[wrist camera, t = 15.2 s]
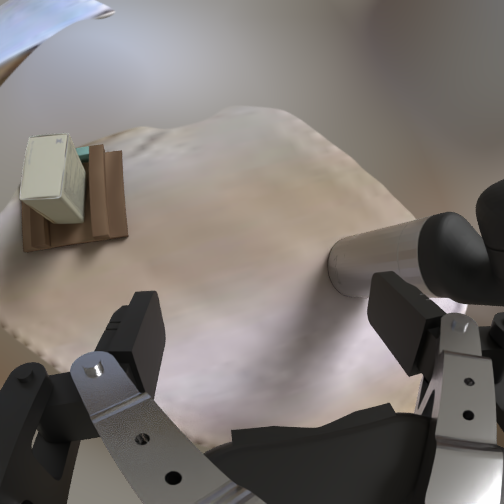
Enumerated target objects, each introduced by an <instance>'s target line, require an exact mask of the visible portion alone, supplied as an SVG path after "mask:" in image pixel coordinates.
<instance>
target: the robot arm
mask: <svg viewBox="0 0 504 504" xmlns="http://www.w3.org/2000/svg"><path fill="white" fill-rule="evenodd" d="M476 217H477V221H478V225H479V229H480V232H481V235H482V237H481V236H480V235H479V234H478V233H477V232H476V231H475V229H474V228H473V227H472V226H471V225H470V223H469V222H468V221H467V220H466V219H465V218H464V217H462V216H461V215H459V214H457V213H454V212H445V213H440V214H437V215H433V216H429V217H425V218H421V219H417V220H414V221H410V222H406V223H402V224H398V225H394V226H390V227H386V228H382V229H378V230H374V231H370V232H366V233H361V234H357V235H353V236H349V237H345V238H343V239H341V240H339V241H338V242H337V243H336V244H335V245H334V247H333V248H332V250H331V252H330V256H329V260H328V271H329V276H330V279H331V281H332V284H333V285H334V287H335V288H336V289H337V290H338V291H339V292H340V293H341V294H343V295H345V296H349V297H369V301H368V308H367V315H368V320H369V322H370V324H371V326H372V327H373V328H374V330H375V331H376V332H377V334H378V335H379V336H380V338H381V339H382V340H383V342H384V343H385V345H386V346H387V347H388V349H389V350H390V351H391V353H392V354H393V355H394V357H395V358H396V360H397V361H398V362H399V364H400V365H401V367H402V368H403V369H404V371H405V372H406V374H407V375H408V376H409V377H410V376H413V375H416V374H420V373H422V374H423V377H422V379H421V382H420V387H419V392H418V397H417V402H416V407H415V411H414V414H413V413H395V411H394V409H393V408H392V406H391V404H390V403H386V404H383V405H379V406H375V407H372V408H368V409H364V410H359V411H355V412H353V413H351V414H349V415H347V416H344V417H342V418H340V419H338V420H336V421H333V422H331V423H329V424H327V425H324V426H322V427H318V428H301V427H280V426H270V427H261V428H251V429H239V430H231V433H232V442H229V443H225V444H223V445H220V446H217V447H215V448H213V449H211V450H209V451H207V452H205V453H204V454H202V452H200V450H199V449H198V448H196V446H195V445H194V444H193V443H192V442H191V441H190V440H189V439H188V438H187V437H186V436H185V435H184V434H183V433H182V432H181V431H180V430H179V428H178V427H177V426H176V425H175V424H174V423H173V422H172V421H171V420H170V419H169V417H168V416H167V415H166V414H165V413H164V412H163V411H162V409H161V408H160V407H159V406H158V405H157V404H156V402H155V401H154V396H155V391H156V386H157V381H158V376H159V371H160V366H161V361H162V356H163V352H164V347H165V340H166V337H165V327H164V323H163V318H162V313H161V308H160V303H159V298H158V294H157V292H156V291H140V292H135V293H134V296H133V298H132V300H131V302H130V304H129V305H125V306H122V307H121V308H119V309H118V310H117V311H116V312H115V313H114V314H113V315H112V317H111V319H110V321H109V323H108V325H107V327H106V330H105V331H104V333H103V335H102V337H101V339H100V341H99V343H98V345H97V347H96V349H95V351H94V352H90V353H87V354H84V355H82V356H81V357H79V358H78V359H76V360H75V361H74V363H73V364H72V366H71V369H70V372H67V373H61V374H55V375H48V374H47V371H46V369H45V368H44V366H43V365H41V364H39V363H35V362H32V363H26V364H23V365H20V366H19V367H17V368H16V369H14V370H13V371H12V372H11V374H10V375H9V377H8V378H7V380H6V382H5V384H4V385H3V387H2V389H1V390H0V504H67V499H68V494H69V489H70V484H71V479H72V475H73V470H74V465H75V461H76V457H77V453H78V449H79V445H80V441H81V440H84V439H91V438H97V437H101V439H102V441H103V443H104V444H105V446H106V448H107V449H108V451H109V453H110V455H111V456H112V458H113V459H114V461H115V463H116V464H117V466H118V468H119V469H120V471H121V472H122V474H123V475H124V477H125V478H126V480H127V481H128V483H129V484H130V486H131V487H132V489H133V490H134V491H135V493H136V494H137V496H138V497H139V498H140V500H141V501H142V503H143V504H504V448H503V447H500V446H497V443H496V422H497V423H498V424H499V426H500V427H501V429H502V430H503V432H504V312H502V313H497V314H496V315H495V316H494V319H493V321H492V324H491V326H486V327H478V325H477V323H476V322H475V321H474V320H473V319H472V318H470V317H469V316H467V315H464V314H460V313H448V314H447V313H445V312H444V311H443V310H442V309H441V308H440V307H439V306H438V305H436V304H435V303H434V302H433V301H432V300H431V299H430V300H429V298H450V299H452V300H453V301H455V302H458V303H462V304H474V305H490V306H504V179H503V180H501V181H499V182H497V183H495V184H493V185H491V186H490V187H488V188H487V189H486V190H485V191H484V192H483V193H482V194H481V195H480V197H479V198H478V201H477V204H476ZM36 429H37V430H38V434H37V437H36V440H35V442H34V445H33V448H32V447H31V445H32V440H33V436H34V434H35V431H36Z"/></svg>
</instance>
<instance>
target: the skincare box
mask: <svg viewBox="0 0 504 504" xmlns="http://www.w3.org/2000/svg"><path fill="white" fill-rule="evenodd" d="M86 189H87V174H86V172H85V170H84V167H83V165H82V163H81V161H80V158H79V156H78V154H77V152H76V149H75V147H74V144H73V142H72V140H71V137H70V135H69V133H64V134H49V135H38V136H31V137H29V140H28V143H27V148H26V153H25V158H24V164H23V171H22V178H21V187H20V200H21V201H23V202H24V203H25V204H27V205H28V206H29V207H31V208H32V209H34V210H35V211H36V212H38V213H39V214H41V215H42V216H43V217H45V218H46V219H48V220H49V221H50V222H52V223H53V224H76V223H84V216H85V202H86Z"/></svg>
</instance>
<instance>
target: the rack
mask: <svg viewBox="0 0 504 504" xmlns="http://www.w3.org/2000/svg"><path fill="white" fill-rule="evenodd" d="M75 149H76V152H77V154H78V156H79V158H80V161H81V163H82V165H83V167H84V170H85V172H86V174H87V189H86V202H85V216H84V223H76V224H53V223H52V222H50V221H49V220H48V219H46V218H45V217H43V216H42V215H41V214H39V213H38V212H36V211H35V210H34V209H32V208H31V207H29V206H28V205H27V204H25V203H24V202H23V201H22V234H23V251H24V252H32V251H38V250H44V249H50V248H56V247H62V246H68V245H75V244H81V243H88V242H94V241H101V240H108V239H115V238H122V237H128V228H127V218H126V208H125V196H124V182H123V163H122V150H121V151H113V152H106V153H105V150H104V146H103V144H102V145H95V146H88V147H82V148H75Z"/></svg>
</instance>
